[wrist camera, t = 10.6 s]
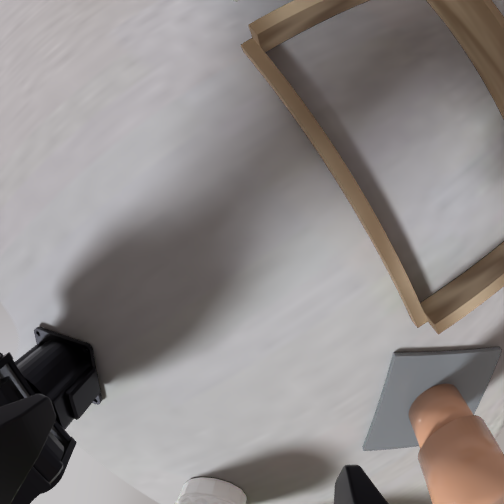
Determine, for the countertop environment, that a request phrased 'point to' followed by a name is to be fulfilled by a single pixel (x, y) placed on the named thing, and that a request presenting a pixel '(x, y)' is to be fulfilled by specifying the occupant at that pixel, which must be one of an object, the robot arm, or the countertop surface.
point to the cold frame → (276, 32)
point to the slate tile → (419, 380)
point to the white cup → (210, 492)
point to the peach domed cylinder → (456, 449)
